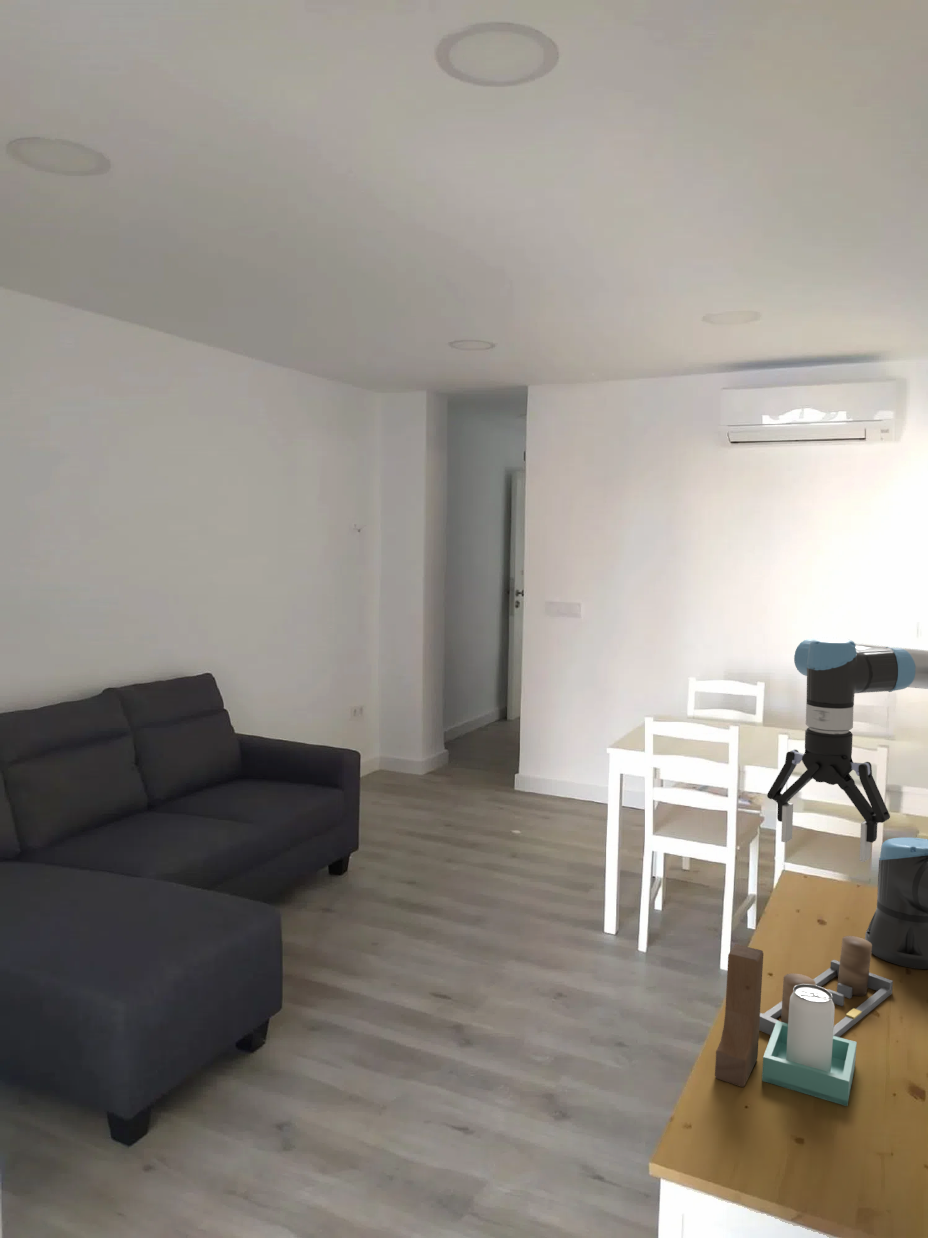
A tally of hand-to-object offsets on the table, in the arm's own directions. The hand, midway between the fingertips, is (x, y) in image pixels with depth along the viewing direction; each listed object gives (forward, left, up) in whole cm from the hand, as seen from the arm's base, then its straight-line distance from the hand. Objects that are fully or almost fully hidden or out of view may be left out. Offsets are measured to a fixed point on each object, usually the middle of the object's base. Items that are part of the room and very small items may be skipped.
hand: (824, 849), depth 155 cm
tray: (+16, +14, -29) cm, 36 cm away
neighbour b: (+9, +5, -29) cm, 30 cm away
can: (+16, +14, -28) cm, 35 cm away
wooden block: (+26, +10, -29) cm, 40 cm away
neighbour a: (-12, -3, -29) cm, 31 cm away
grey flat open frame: (-1, +1, -29) cm, 29 cm away
